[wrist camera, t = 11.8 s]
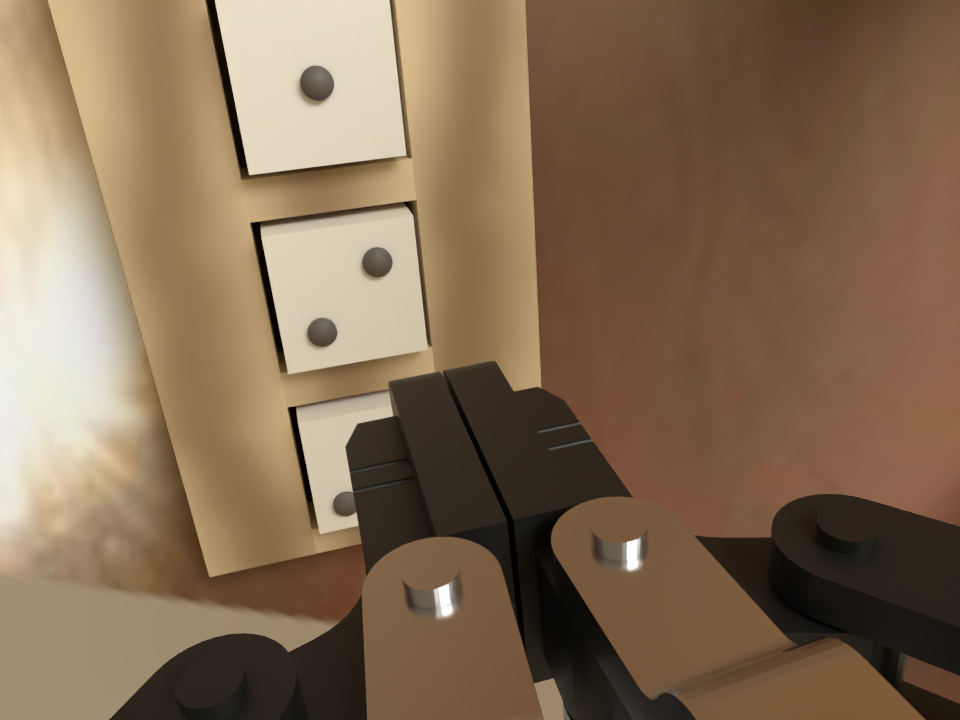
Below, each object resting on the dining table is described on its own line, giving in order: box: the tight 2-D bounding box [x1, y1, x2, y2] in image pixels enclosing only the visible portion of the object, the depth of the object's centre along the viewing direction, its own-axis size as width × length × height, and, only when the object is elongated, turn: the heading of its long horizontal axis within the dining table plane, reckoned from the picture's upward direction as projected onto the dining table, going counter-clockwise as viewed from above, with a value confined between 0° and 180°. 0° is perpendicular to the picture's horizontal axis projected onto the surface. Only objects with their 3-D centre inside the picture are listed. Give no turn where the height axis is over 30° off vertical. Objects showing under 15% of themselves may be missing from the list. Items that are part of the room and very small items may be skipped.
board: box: [48, 0, 541, 577], centre depth 29 cm, size 14×22×2 cm, turn 4°
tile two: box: [260, 202, 428, 374], centre depth 29 cm, size 5×5×3 cm
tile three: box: [296, 389, 393, 534], centre depth 32 cm, size 5×5×3 cm
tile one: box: [215, 0, 406, 175], centre depth 26 cm, size 5×5×3 cm
